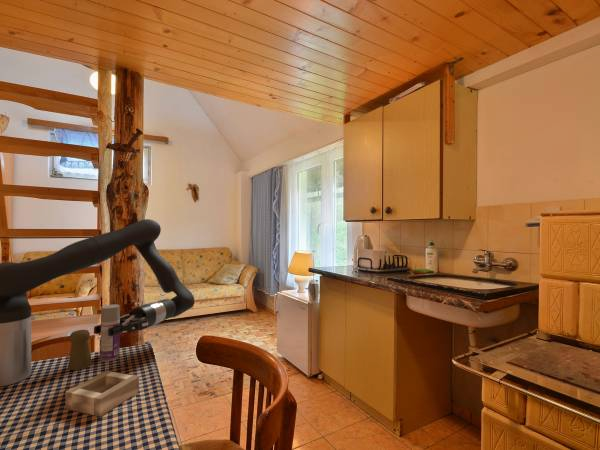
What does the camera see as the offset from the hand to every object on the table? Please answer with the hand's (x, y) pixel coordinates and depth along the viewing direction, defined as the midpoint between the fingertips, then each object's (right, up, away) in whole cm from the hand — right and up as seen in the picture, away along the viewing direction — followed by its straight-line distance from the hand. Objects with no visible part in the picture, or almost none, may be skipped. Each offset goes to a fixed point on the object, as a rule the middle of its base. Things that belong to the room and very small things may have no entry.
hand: (102, 331), depth 86 cm
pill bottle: (-9, -14, +17) cm, 24 cm away
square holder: (+7, -14, -9) cm, 18 cm away
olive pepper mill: (-13, -14, +9) cm, 21 cm away
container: (+1, -9, +2) cm, 9 cm away
